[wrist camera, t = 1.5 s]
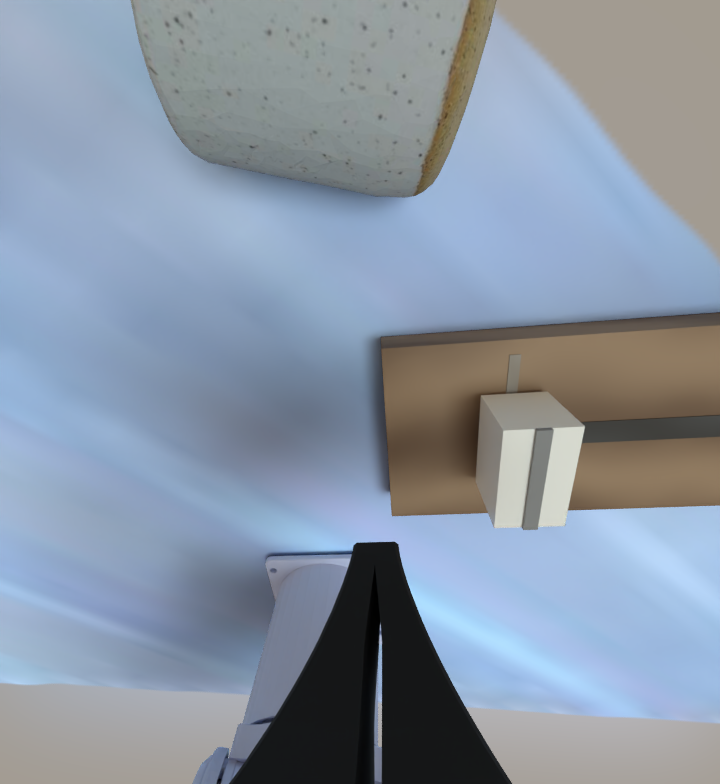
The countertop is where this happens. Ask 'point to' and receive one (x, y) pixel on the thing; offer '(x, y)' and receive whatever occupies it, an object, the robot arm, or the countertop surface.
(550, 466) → the fader knob
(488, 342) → the fader console
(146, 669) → the countertop surface
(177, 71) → the ceramic mug
